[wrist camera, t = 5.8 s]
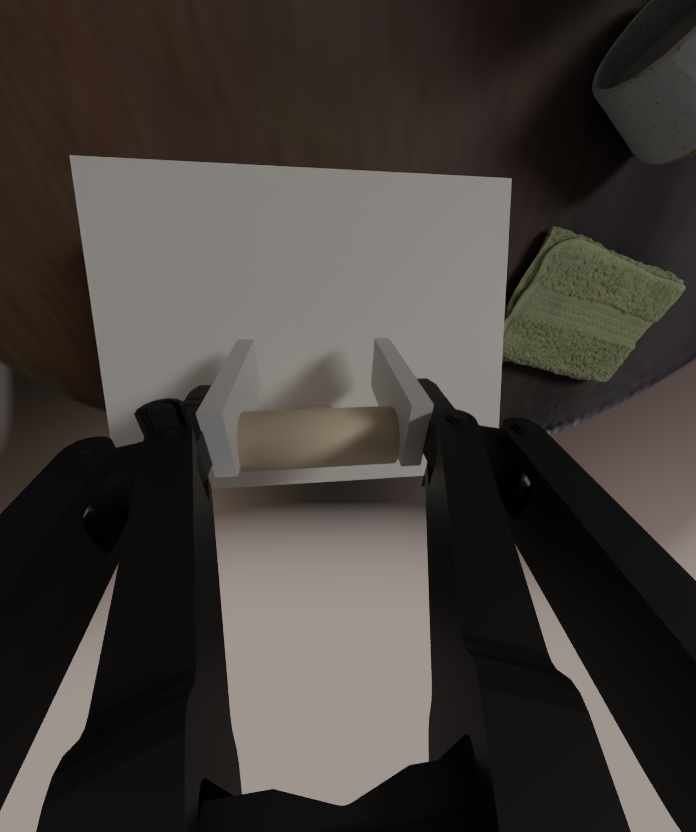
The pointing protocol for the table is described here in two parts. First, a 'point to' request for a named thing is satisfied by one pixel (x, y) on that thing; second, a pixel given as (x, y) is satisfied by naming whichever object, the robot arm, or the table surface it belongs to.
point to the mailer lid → (294, 299)
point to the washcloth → (583, 307)
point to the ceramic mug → (653, 82)
